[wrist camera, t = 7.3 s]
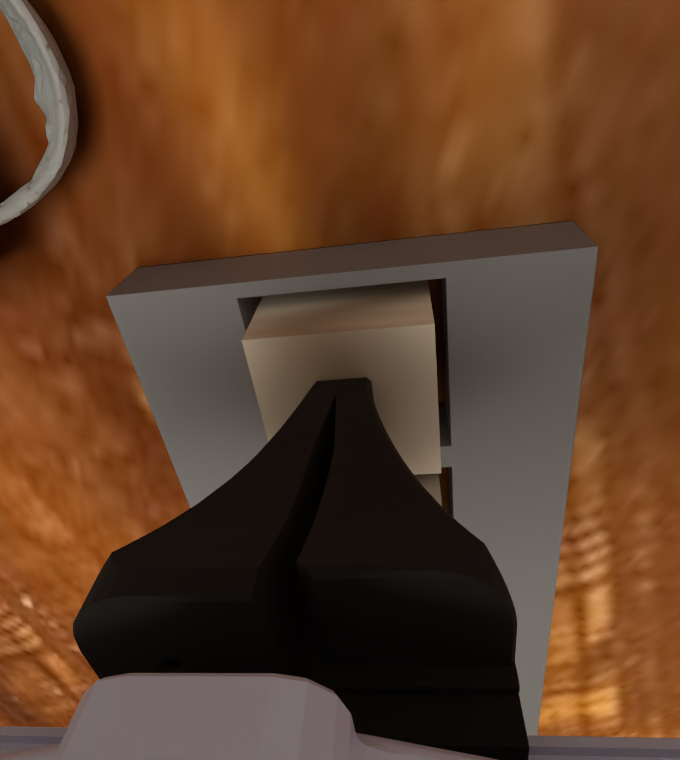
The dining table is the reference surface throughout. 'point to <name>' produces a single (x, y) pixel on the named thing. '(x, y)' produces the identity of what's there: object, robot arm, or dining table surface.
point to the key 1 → (352, 358)
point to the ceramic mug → (43, 105)
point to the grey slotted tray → (461, 378)
